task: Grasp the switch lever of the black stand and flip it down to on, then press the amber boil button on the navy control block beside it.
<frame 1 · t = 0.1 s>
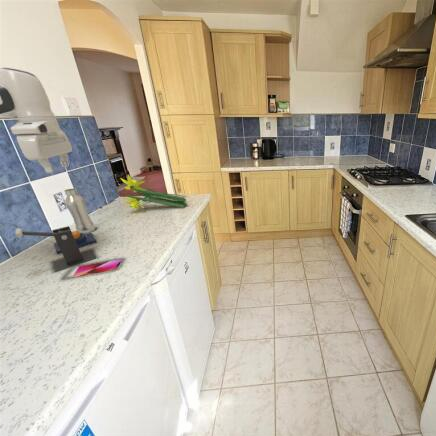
hand: (58, 169, 84), 31 cm above the countertop, tool pointing down, fingers open, 8 cm apart
daffodil flowers: (158, 207, 136), on the countertop
smartphone: (96, 271, 81), on the countertop
black stand: (75, 262, 86), on the countertop
boil button: (72, 235, 95), point 5 cm above the countertop, slide at 0.1 cm
switch lever: (43, 234, 78), point 13 cm above the countertop, hinge at 25.0°
plastic bottle: (87, 233, 108), on the countertop
boil block: (77, 246, 97), on the countertop
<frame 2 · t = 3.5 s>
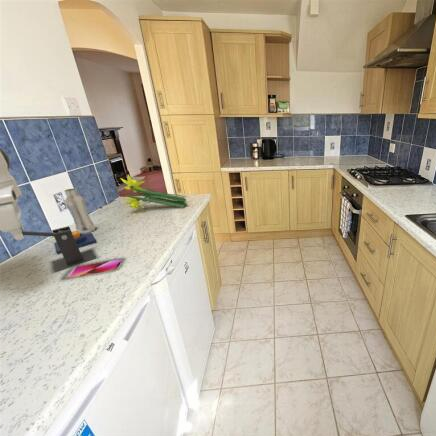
hand: (20, 235, 74), 14 cm above the countertop, tool pointing down, fingers closed on switch lever, 5 cm apart
switch lever: (43, 234, 78), point 13 cm above the countertop, hinge at 25.0°, touching gripper
everything else where it was.
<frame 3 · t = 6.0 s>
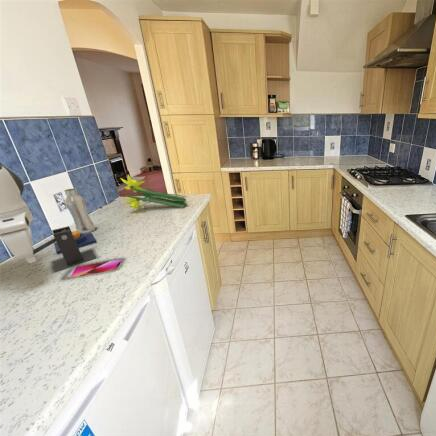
hand: (32, 257, 78), 6 cm above the countertop, tool pointing down, fingers closed on switch lever, 5 cm apart
switch lever: (48, 243, 79), point 9 cm above the countertop, hinge at -20.2°, touching gripper
everything else where it was.
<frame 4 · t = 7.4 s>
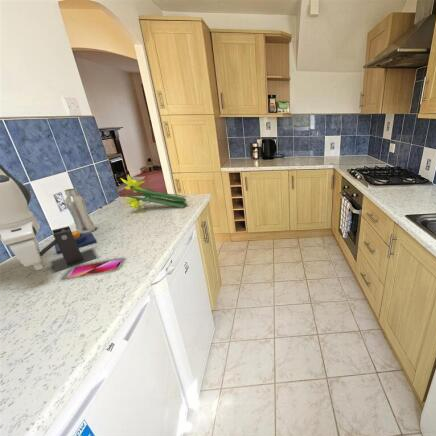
hand: (39, 266, 79), 3 cm above the countertop, tool pointing down, fingers closed on switch lever, 3 cm apart
switch lever: (50, 245, 80), point 9 cm above the countertop, hinge at -31.5°, touching gripper
everything else where it was.
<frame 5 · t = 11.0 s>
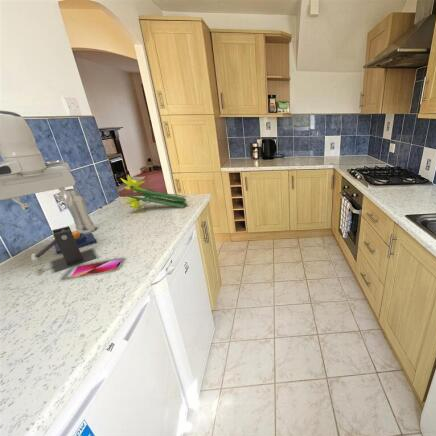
hand: (45, 204, 84), 20 cm above the countertop, tool pointing down, fingers open, 8 cm apart
switch lever: (50, 245, 80), point 9 cm above the countertop, hinge at -30.6°
everything else where it was.
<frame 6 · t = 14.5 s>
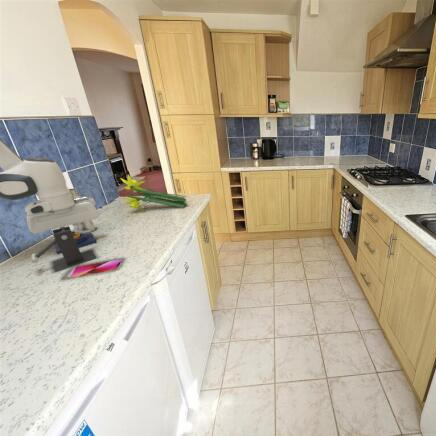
hand: (72, 235, 95), 5 cm above the countertop, tool pointing down, fingers closed, pressing on boil button
boil button: (73, 237, 95), point 4 cm above the countertop, slide at -0.7 cm, touching gripper
everything else where it was.
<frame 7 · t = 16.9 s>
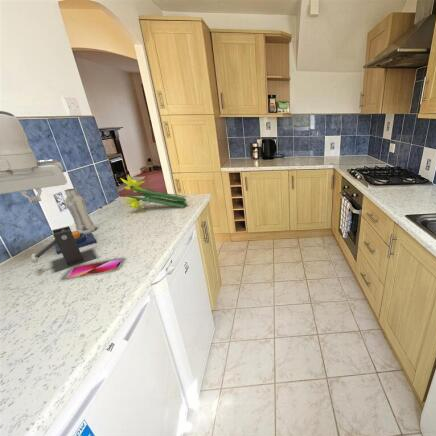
hand: (35, 201, 87), 20 cm above the countertop, tool pointing down, fingers closed
boil button: (72, 235, 95), point 5 cm above the countertop, slide at 0.1 cm
everything else where it was.
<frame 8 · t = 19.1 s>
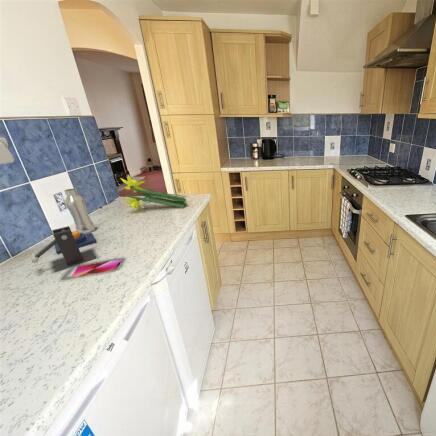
nothing on the countertop moved.
at the end: switch lever at -31° (first picture: +25°); boil button pushed in 1.0 cm at the most during the clip, back to where it started at the end; boil button slide at 0.1 cm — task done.
